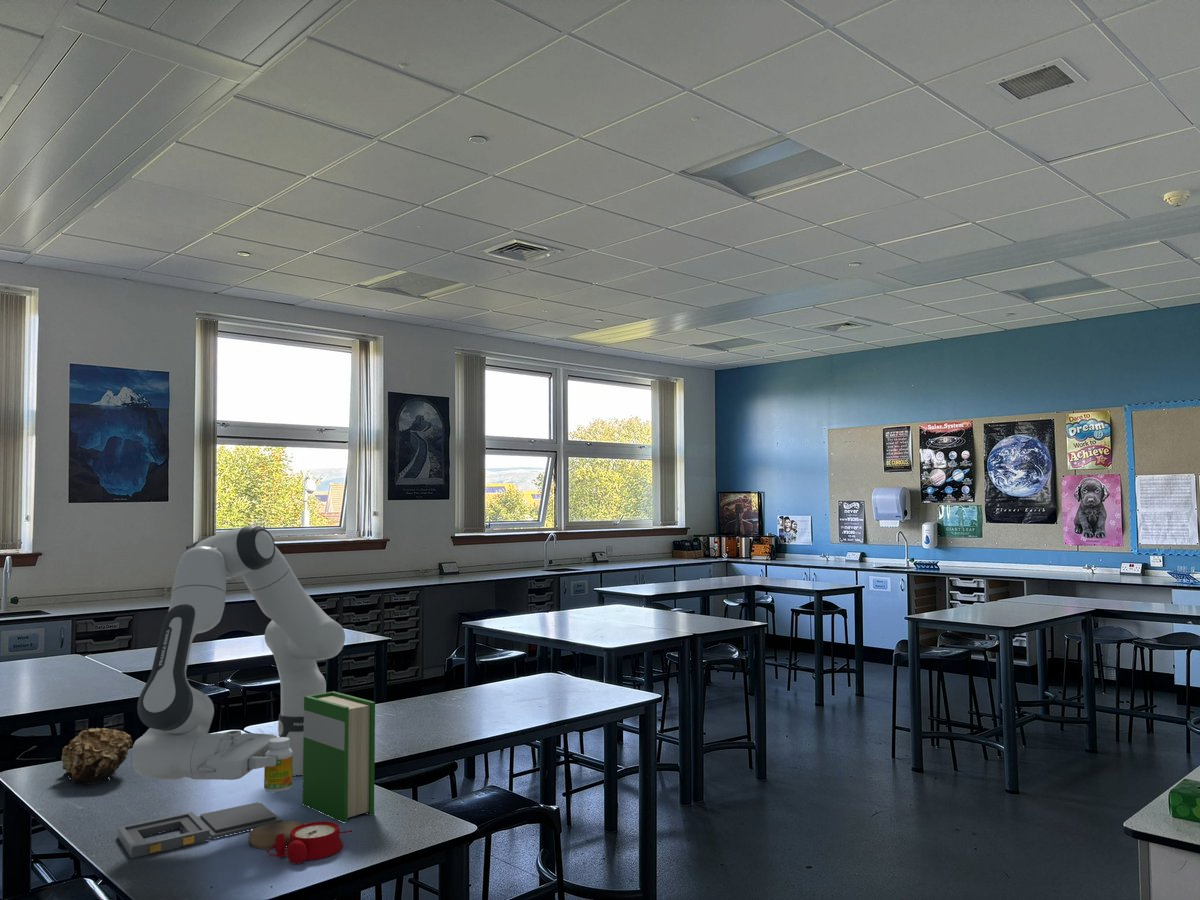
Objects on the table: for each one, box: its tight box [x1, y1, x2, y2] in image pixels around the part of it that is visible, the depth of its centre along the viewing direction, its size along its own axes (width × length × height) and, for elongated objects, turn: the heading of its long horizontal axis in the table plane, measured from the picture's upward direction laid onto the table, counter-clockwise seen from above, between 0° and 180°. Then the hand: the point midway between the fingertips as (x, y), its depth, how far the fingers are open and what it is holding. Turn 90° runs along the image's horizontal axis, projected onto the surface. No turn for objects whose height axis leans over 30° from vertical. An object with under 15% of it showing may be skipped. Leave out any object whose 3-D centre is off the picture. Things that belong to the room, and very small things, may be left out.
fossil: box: [61, 727, 133, 786], centre depth 215 cm, size 23×14×15 cm, turn 44°
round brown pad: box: [248, 820, 305, 850], centre depth 174 cm, size 11×11×2 cm
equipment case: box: [117, 801, 283, 859], centre depth 178 cm, size 28×15×2 cm, turn 129°
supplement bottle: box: [263, 736, 293, 793], centre depth 175 cm, size 5×5×10 cm
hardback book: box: [302, 690, 376, 823], centre depth 191 cm, size 18×7×24 cm, turn 47°
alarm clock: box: [266, 820, 353, 865], centre depth 166 cm, size 10×6×15 cm
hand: (283, 756), depth 175 cm, fingers closed on supplement bottle, 5 cm apart
